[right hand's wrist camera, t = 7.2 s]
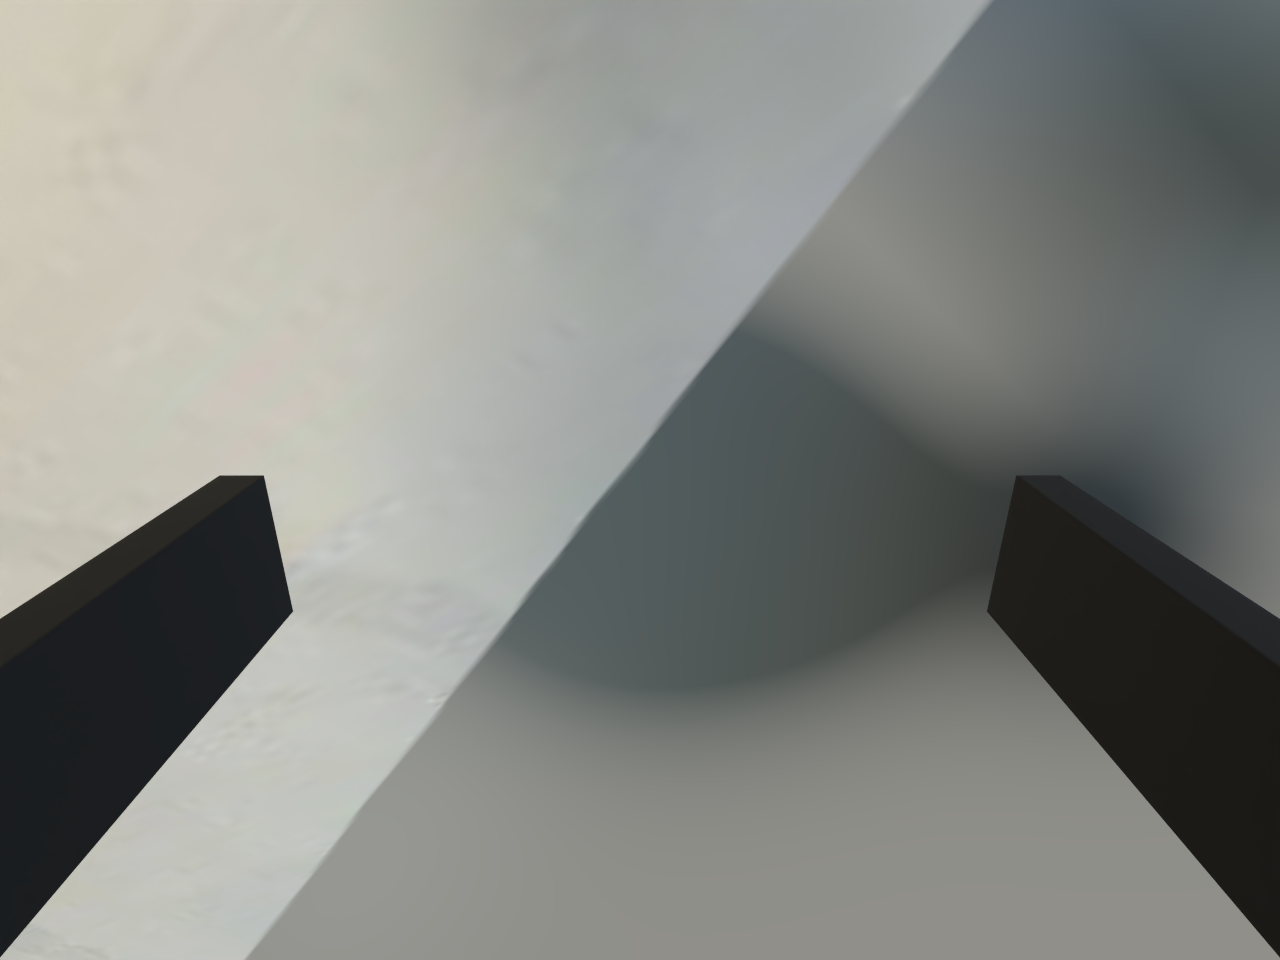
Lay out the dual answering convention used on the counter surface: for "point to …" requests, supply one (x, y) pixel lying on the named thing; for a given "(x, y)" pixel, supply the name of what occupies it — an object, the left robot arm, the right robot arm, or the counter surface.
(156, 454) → the counter surface
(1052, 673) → the right robot arm
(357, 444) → the counter surface
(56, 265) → the counter surface
